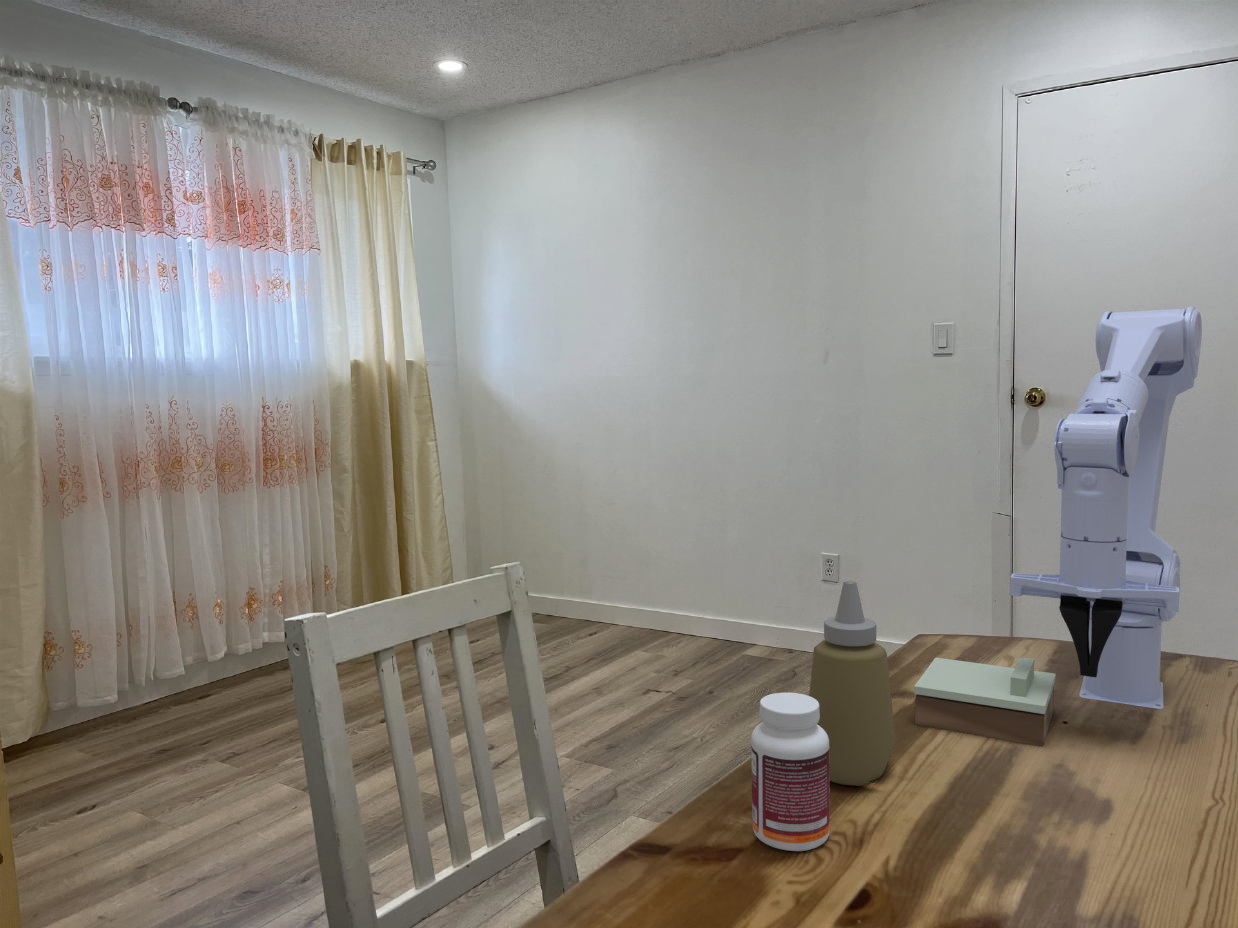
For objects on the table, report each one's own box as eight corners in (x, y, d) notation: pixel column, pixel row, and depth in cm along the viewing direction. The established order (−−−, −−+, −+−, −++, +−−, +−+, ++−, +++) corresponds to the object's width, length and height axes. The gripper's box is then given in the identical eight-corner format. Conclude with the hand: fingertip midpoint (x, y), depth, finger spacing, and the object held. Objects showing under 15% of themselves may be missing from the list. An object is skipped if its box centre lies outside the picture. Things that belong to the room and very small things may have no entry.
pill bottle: (846, 838, 73) (846, 705, 72) (789, 862, 69) (789, 723, 68) (791, 808, 78) (790, 683, 77) (736, 829, 74) (734, 699, 73)
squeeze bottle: (788, 775, 84) (787, 584, 82) (832, 747, 90) (832, 569, 88) (868, 802, 78) (869, 598, 77) (910, 770, 84) (912, 580, 82)
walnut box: (935, 698, 102) (936, 667, 102) (1053, 717, 96) (1054, 684, 96) (915, 729, 94) (915, 695, 93) (1042, 752, 88) (1043, 716, 87)
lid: (935, 664, 102) (935, 641, 102) (1055, 680, 96) (1056, 657, 96) (914, 693, 93) (914, 669, 93) (1044, 714, 87) (1045, 687, 87)
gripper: (1006, 538, 88) (1003, 674, 90) (1182, 550, 81) (1176, 698, 82) (1016, 527, 94) (1013, 654, 96) (1180, 537, 87) (1174, 675, 88)
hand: (1088, 673), depth 89 cm, fingers closed
